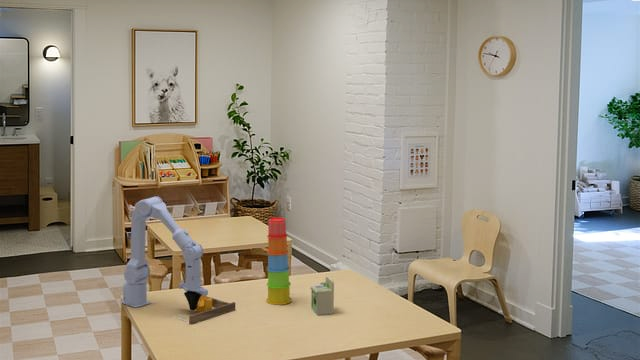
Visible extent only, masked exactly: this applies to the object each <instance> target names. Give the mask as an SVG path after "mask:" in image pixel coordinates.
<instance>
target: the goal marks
mask: <svg viewBox="0 0 640 360" xmlns="http://www.w3.org/2000/svg"><path fill="white" fill-rule="evenodd" d="M213 308H214V307H212V309H213ZM172 318H175V319H178V320H181V321H183V322H188V320H187V319H184V318H181V317H178V316H176V315H172Z"/></svg>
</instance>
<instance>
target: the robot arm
mask: <svg viewBox="0 0 640 360" xmlns="http://www.w3.org/2000/svg"><path fill="white" fill-rule="evenodd" d="M149 218H153V219H154V218H155V219H158V220H160V221H161V222H162V224H163V225H164V226H165V227H166V228H167V229H168V230H169V231H170V233H171V234H172V240H173V241H174V243H175V244H176V245H177V246H178V247H179V249H180V250H181V251H182V257H183V259H184V264H185V282H181V283H180V282H179V283H178V289H180V290H181V289H182V290H184V291H185V292H184V293H183V295H184V297H185V298H186V300H187V303H188V307H189V310H190V311H197V310H196V308H197V304H198V301H199V299H200V297H201V295H203V296H205V295H206V296H208V295H209V289H206V288H204V287H203V286H202V285H201V281H202V279H201V278H202V277H201V276H202V275H201V273H202V272H201V271H202V269H201V268H202V267H201V265H202V263H201V262H202V261H201V260H202V257H203V255H204V248H203V247H202V245H201V244H200V243H198V242H197V243H196V241H194V240H193V238H192V237H191V236H190V234H189V231H188V230H186V229H185V228H180V226H179V224H178V223H177V222H176V220H174V219H175V218H173V216H172V215H171V213H170V212H169V210H168V208H167V205H166V203H165V202H163V199H162V198H161V197H159V196H153V197H149V198H145V199H141V200H139V201H138V202H136V203H135V206H134V209H133V211H132V214H131V218H130V219H131V225H130V226H131V230H130V259H129V260H128V262H127V264H126V267H125V271H124V273H123V277H124V280H125V282H124V283H123V285H122V300H121V301H120V303H121V304H124V305H127V306H130V307H133V308H140V307H143V306H147V305H150V304H152V302H151V301H149V300H147V299H148V297H147V296H148V295H147V294H148V293H147V291H148V290H147V288H148V287H147V283H148V282H147V281H148V277H150V274H151V269H150V267H149V261H148V260H147V258H146V225H147V224H146V223H147V221H146V220H147V219H149Z"/></svg>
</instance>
